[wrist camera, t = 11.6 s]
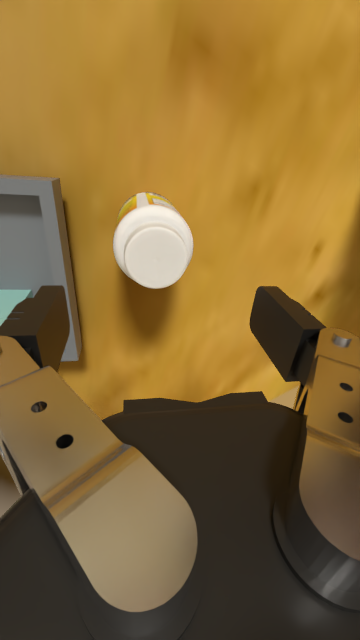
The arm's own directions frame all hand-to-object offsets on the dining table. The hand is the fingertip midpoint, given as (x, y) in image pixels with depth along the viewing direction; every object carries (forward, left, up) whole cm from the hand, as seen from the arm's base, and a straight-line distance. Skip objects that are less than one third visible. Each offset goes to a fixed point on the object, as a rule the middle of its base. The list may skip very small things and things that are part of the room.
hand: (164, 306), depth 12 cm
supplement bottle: (0, 0, -17) cm, 17 cm away
